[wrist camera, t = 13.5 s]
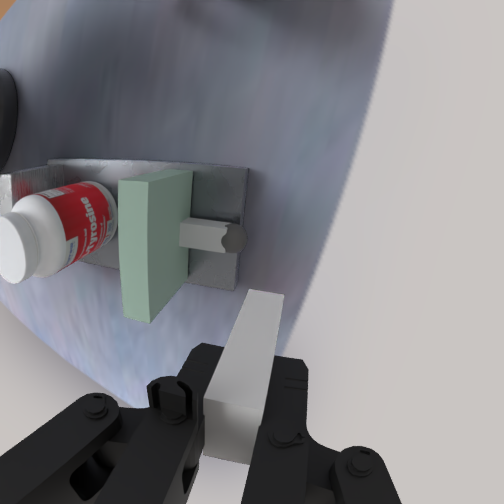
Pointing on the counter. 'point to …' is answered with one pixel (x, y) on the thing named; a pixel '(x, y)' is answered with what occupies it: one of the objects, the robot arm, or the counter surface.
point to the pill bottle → (55, 230)
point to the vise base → (107, 174)
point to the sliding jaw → (162, 239)
